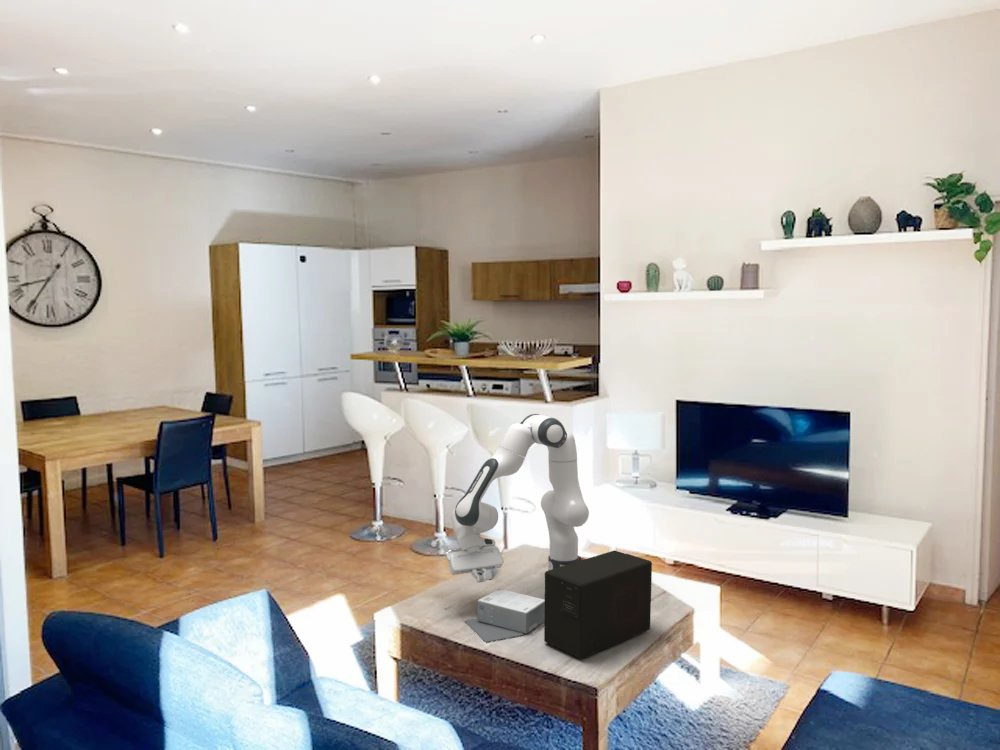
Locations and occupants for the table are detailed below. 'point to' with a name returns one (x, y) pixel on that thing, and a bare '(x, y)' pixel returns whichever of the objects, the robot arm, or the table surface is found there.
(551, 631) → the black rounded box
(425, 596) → the table surface
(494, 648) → the table surface
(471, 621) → the mat
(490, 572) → the light bulb box
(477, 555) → the robot arm
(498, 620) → the hard drive box
